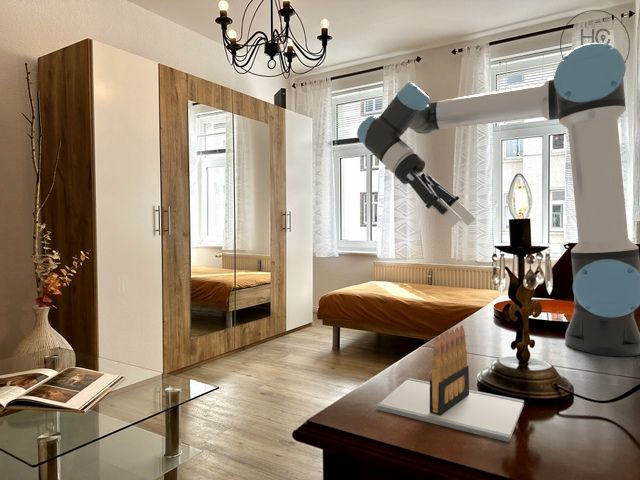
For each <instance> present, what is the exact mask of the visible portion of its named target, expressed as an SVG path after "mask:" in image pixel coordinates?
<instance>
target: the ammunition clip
mask: <svg viewBox="0 0 640 480" xmlns="http://www.w3.org/2000/svg"><path fill="white" fill-rule="evenodd" d="M465 333H466V332H465V329H464V326H463V325H460V327H459V328H458V327H455V329H451V330H450V333H449V332H448V331H446V333H445V335H444V334H443V333H441V334H440V337H439V336H435V338H434V342H433V346H432V347H433V348H432V349H433V350H432V353H433V354H432V362H431V379H430V380H429V382H430V413H434V414H437V415H440V416H441V415H442V414H444V413H445V412H446V411H448V410H449V409H451V408H452V407H453V406H455V405H456V404H457V403H459V402H460V401H461V400H463V399H464V398H465V397H467V396H468V395H469V390H470V374H469V373H470V372H469V368H470V367H469V366H470V365H468V361H467V360H468V356H467V355H468V354H467V351H468V350H467V345H466V344H467V343H466V334H465Z"/></svg>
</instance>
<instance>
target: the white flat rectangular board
mask: <svg viewBox="0 0 640 480" xmlns="http://www.w3.org/2000/svg"><path fill="white" fill-rule="evenodd" d="M524 406H525V400H524V399H519V398H515V397H508V396H504V395H497V394H493V393H488V392H483V391H477V390H473V389H469V395H468V396H467V397H465V398H464V399H463V400H461V401H460V402H459V403H457V404H456V405H455V406H453V407H452V408H451V409H449V410H448V411H446V412H445V413H444V414H442V415H441V416H440V415H437V414H434V413H430V381H427V380H422V379H416V378H412V377H411V378H410V377H408V378H406V380H404V382H402V383H400V385H399V386H398V387H397V388H396V389H394V390H393V391H391V393H389V394H388V395H387V396H386V397H385V398H384V399H383V400H381V401H380V402H379V403H377V404H376V406H375V407H376V410H378V411H382V412H385V413H390V414H394V415H397V416H401V417H406V418H410V419H413V420H417V421H422V422H426V423H430V424H434V425H439V426H442V427H446V428H450V429H454V430H458V431H461V432H467V433H470V434H473V435H478V436H482V437H487V438H491V439H494V440H499V441H502V442H507V443H510V441H511V438H512V436H513V433H514V431H515V429H516V426H517V424H518V421H519V418H520V416H521V413H522V410H523V408H524Z"/></svg>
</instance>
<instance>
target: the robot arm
mask: <svg viewBox="0 0 640 480" xmlns="http://www.w3.org/2000/svg"><path fill="white" fill-rule="evenodd" d="M626 66H627V65H626V63H625V59H624V57H623V54H621V52H620V51H619V50H618V49H617V48H616V47H615V46H613V45H610V44H607V43H603V42H590V43H585V44H582V45H580V46H577V47H575V48H574V49H572V50H571V51H569V52H568V53H567V54H566V55H565V56H564V57H563V58H562V59H561V60H560V61H559V63H558V65H557V67H556V70H555V72H554V76H553V77H551V78H547V79H546V80H545V81H544V82H543V83H542V84H536V85H529V86H523V87H517V88H511V89H506V90H505V89H503V90H499V91H498V90H497V91H491V92H486V93H479V94H473V95H467V96H459V97H455V98H448V99H441V100H437V101H431V98H430V97H429V96H428V95H427V93H425V92H424V91H423V90H422V89H421V88H419V87H418V86H417V85H416V84H415V83H413V82H407V83H405V85H403V87H402V88H401V89H400V90H399V91H397V94H396V95H395V96H394V98H393V99H392V100H391V101H390V103H389V104H388V106H386V107H385V110H384V111H383V112H382V113H381V114H380V115H379V116H376V115H370V116H368V117H366V119H364V120H363V121H362V122H361V123H360V125H359V126H358V128H357V130H356V131H357V132H356V136H357V138H358V139H359V141H360V143H362V144H363V145H364V146H365V148H366V149H367V150H368V151H369V152H370V153H372V155H373V156H374V157H375V158H377V159H378V161H380V162H381V164H383V165H384V169H385V171H388V170H389V171H390V172H391V173H392V174H394V176H395V178H397V179H398V180H399V181H400V182H401V184H403V185H407V184H409V185H410V187H411V188H412V189H413V190H414V192H415V193H416V194H417V195H418V197H419V198H420V199H421V200H422V202H423V204H425V207H426V208H427V209H430V208H432V209H433V210H434V211H435V212H436V213H437V214H438V215H439V216H440V217H441V218H442V219H443V220H444V222H446V223H447V224H448V225H449V226H450V227H451V228H454V227H455V226H456V225H457V224H458V223H459V221H462V222H463V223H464V224H465V225H467V227H468V226H470V225H471V224H472V223H473V222H474V221H475V220H476V219H477V217H476V216H475V215H474V214H473V213H472V212H470V210H468V209H467V208H466V206H464V205H463V204H462V203H461V202H460V201H459V200H460V197H459V196H458V195H457V196H455V195H454V194H453V192H451V191H449V190H448V189H447V188H445V186H443V185H442V184H441V183H440V182H438V181H437V180H436V179H435V178H433V176H432V175H431V174H429V173H426V172H424V169H425V167H426V162H425V161H424V160H423V158H422V157H420V156H419V155H418V154H417V153H415V151H414V149H412V148H411V147H410V146H409V145H408V144H407V142H404V141H403V140H402V139H401V137H402V136H403V134H404V133H406V131H407V130H408V129H410V130H412V131H414V132H415V133H417V134H422V135H429V134H431V133H432V132H434V131H437V130H445V129H453V128H460V127H461V128H462V127H470V126H476V125H477V126H479V125H485V124H493V123H501V122H507V121H508V122H510V121H517V120H527V119H535V118H544V119H546V120H547V121H554V120H558V121H559V124H560V125H562V126H564V127H565V128H566V129H567V131H568V132H567V133H568V143H569V153H570V165H571V176H572V187H573V198H574V209H575V218H576V219H575V220H576V227H577V228H576V229H577V243H576V244H575V246H573V247H572V249H571V250H570V254H571V255H570V256H571V266H572V267H571V268H572V277H573V279H572V280H573V281H572V292H573V296H574V297H573V298H574V300H573V305H574V308H573V313H572V316H571V318H570V322H569V324H568V326H567V329H566V331H565V339H564V340H565V342H564V343H565V344H566V345H567V346H568V347H570V348H571V349H574V350H577V351H581V352H585V353H590V354H594V355H601V356H609V357H636V356H639V355H640V331H639V328H638V325H637V323H636V319H635V313H634V312H635V310H637V309H638V308H639V307H640V252H639V251H640V250H639V249H640V248H639V246H638V245H637V244H636V243H634V242H633V241H631V240H630V238H629V233H628V221H627V212H626V210H627V209H626V199H625V198H626V197H625V188H624V177H623V167H622V155H621V154H622V153H621V146H620V145H621V144H620V132H619V121H618V120H619V118H620V117H621V116H622V115H623V114H624V113H625V111H626V110H627V106H626V96H625V95H626V93H625V83H624V77H625V76H626V75H625V74H626V70H627V68H626Z"/></svg>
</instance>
